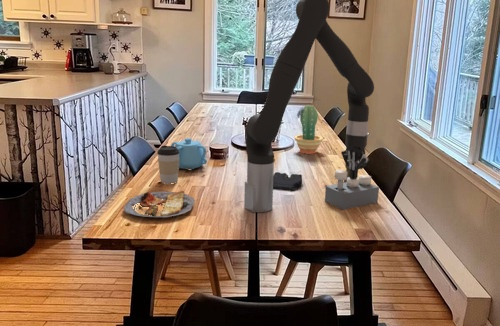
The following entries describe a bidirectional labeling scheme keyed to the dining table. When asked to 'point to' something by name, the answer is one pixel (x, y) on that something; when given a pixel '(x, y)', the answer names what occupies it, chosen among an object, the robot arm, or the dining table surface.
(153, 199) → the food plate
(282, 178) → the dark slate chunk
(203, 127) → the dining table surface
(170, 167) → the coffee cup
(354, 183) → the knob middle
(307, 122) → the potted cactus
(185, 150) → the decorative pot
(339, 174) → the knob near
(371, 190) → the mount block
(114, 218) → the dining table surface
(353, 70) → the robot arm
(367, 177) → the knob far
